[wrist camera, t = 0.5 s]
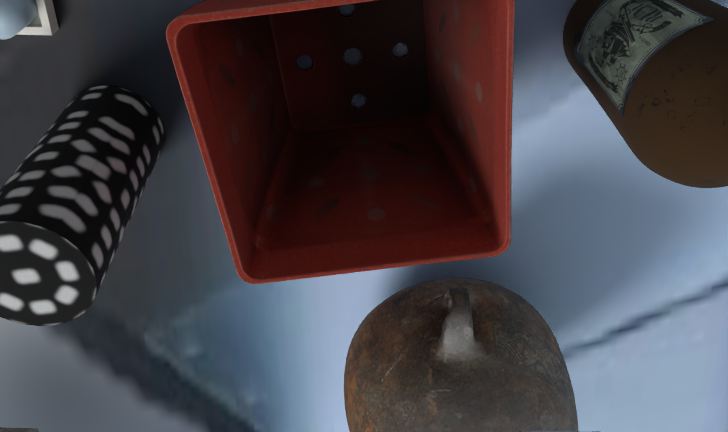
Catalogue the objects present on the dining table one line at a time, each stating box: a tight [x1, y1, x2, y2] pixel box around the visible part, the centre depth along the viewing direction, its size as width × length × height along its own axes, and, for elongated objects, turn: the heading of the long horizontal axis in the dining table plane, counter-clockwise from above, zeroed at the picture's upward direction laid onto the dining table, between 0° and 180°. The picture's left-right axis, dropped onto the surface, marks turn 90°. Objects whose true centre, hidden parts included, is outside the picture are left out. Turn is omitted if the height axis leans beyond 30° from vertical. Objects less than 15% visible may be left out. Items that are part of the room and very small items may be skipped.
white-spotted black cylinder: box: [0, 86, 164, 326], centre depth 47 cm, size 8×8×20 cm
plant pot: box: [166, 0, 515, 284], centre depth 46 cm, size 19×19×17 cm
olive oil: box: [563, 0, 728, 188], centre depth 42 cm, size 11×11×25 cm
